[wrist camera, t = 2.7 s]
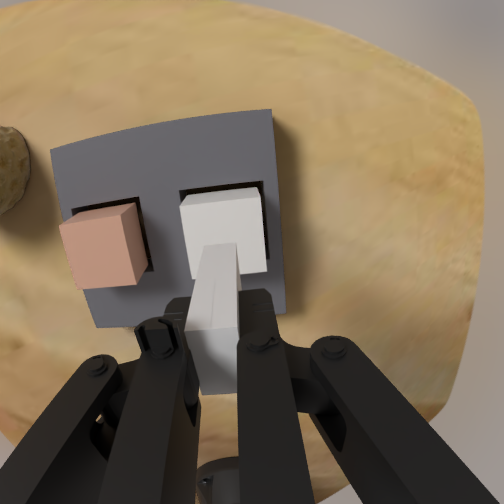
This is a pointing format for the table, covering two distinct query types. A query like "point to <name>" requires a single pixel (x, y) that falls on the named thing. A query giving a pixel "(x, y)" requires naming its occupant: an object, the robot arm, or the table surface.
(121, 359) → the table surface
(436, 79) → the table surface
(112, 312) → the key panel
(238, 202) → the key soft
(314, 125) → the table surface
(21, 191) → the rock
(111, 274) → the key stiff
